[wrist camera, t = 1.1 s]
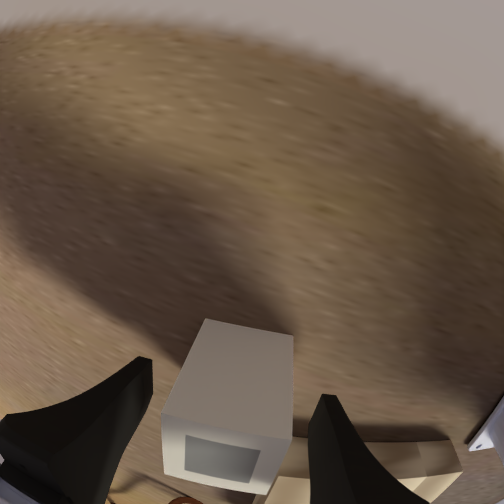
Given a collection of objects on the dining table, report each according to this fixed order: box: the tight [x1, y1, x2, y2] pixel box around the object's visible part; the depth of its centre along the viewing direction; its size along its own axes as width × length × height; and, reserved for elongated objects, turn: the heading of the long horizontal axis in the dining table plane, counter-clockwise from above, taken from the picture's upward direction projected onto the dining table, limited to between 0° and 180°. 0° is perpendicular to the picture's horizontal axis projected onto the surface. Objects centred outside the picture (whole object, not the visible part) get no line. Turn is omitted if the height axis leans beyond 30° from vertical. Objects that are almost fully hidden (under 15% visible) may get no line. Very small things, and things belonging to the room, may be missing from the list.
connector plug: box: [161, 318, 293, 495], centre depth 12 cm, size 4×4×6 cm
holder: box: [252, 436, 463, 504], centre depth 16 cm, size 12×12×3 cm
